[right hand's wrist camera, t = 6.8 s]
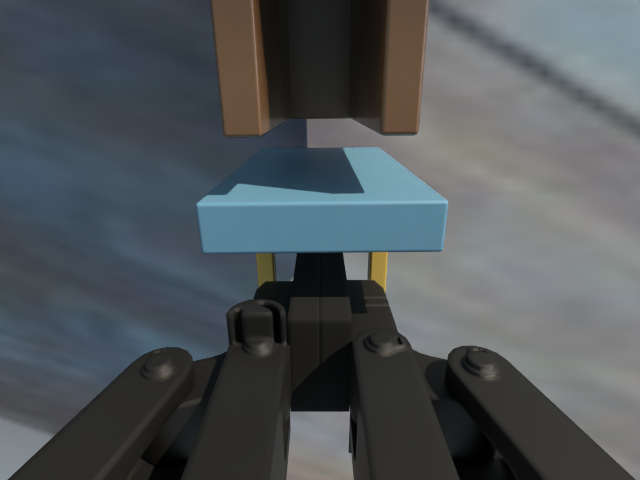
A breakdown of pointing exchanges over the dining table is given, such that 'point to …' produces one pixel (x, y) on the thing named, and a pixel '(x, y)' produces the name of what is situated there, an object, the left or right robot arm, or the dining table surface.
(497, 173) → the dining table surface
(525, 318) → the dining table surface
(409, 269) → the dining table surface
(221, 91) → the drawer
